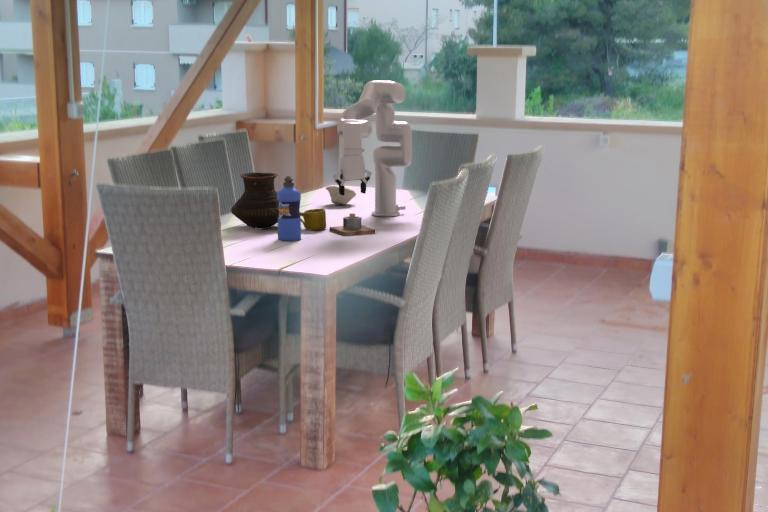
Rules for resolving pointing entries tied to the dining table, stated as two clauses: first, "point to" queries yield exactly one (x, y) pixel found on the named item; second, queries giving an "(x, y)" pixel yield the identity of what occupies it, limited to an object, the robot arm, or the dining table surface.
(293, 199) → the water bottle
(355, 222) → the collar
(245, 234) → the dining table surface
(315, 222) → the mug
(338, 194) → the bowl
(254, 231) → the dining table surface
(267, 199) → the ceramic pot
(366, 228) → the post block
